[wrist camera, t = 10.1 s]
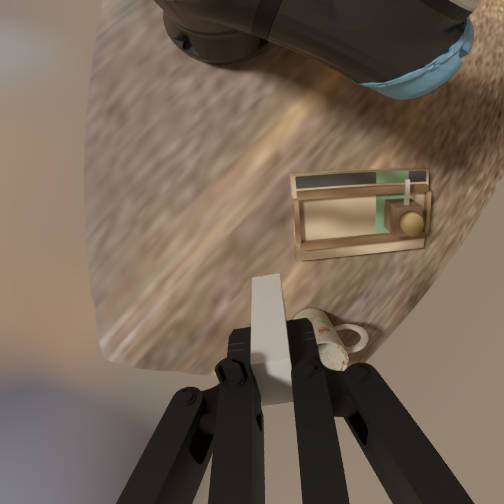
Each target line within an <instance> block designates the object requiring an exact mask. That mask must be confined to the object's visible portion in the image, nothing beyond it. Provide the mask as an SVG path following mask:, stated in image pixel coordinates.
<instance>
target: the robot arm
mask: <svg viewBox="0 0 504 504" xmlns="http://www.w3.org/2000/svg"><path fill="white" fill-rule="evenodd" d="M154 1H155V2H156V3H157V4H158V5H159V6H160V7H161V8H162V9H163V10H164V11H163V19H164V25H165V28H166V31H167V33H168V35H169V37H170V38H171V40H172V41H173V42H174V44H175V45H176V46H177V47H179V48H180V49H181V50H182V51H183V52H184V53H186V54H187V55H189V56H191V57H192V58H195V59H197V60H200V61H203V62H207V63H212V64H231V63H237V62H241V61H244V60H247V59H250V58H252V57H254V56H256V55H258V54H259V53H261V52H262V51H264V50H265V49H266V48H267V47H269V46H270V45H271V44H272V43H274V44H277V45H280V46H282V47H285V48H287V49H289V50H292V51H294V52H297V53H299V54H301V55H304V56H306V57H308V58H310V59H313V60H315V61H317V62H319V63H321V64H323V65H325V66H328V67H330V68H332V69H334V70H336V71H338V72H340V73H342V74H344V75H346V76H347V77H348V78H349V79H350V80H351V81H353V82H354V83H356V84H358V85H362V86H364V87H369V88H371V89H373V90H375V91H377V92H379V93H381V94H382V95H384V96H386V97H389V98H393V99H397V100H408V99H414V98H418V97H421V96H423V95H426V94H428V93H430V92H432V91H434V90H435V89H437V88H438V87H440V86H441V85H443V84H444V83H445V82H446V81H447V80H449V79H450V78H451V77H452V76H453V75H454V74H455V73H456V72H457V70H458V69H459V68H460V67H461V65H462V64H463V63H462V60H461V58H462V57H464V56H465V55H468V54H469V52H470V50H471V48H472V45H473V40H474V28H473V25H472V22H471V21H470V19H469V15H470V14H471V13H472V12H473V11H474V10H475V9H476V8H477V4H476V0H154ZM215 372H216V375H217V377H218V379H219V382H220V383H219V384H218V385H217V386H215V387H213V388H211V389H207V390H205V391H200V390H199V389H198V388H195V387H186V388H183V389H180V390H179V391H177V392H176V393H175V395H174V396H173V398H172V399H171V401H170V403H169V405H168V407H167V409H166V411H165V413H164V414H163V417H162V418H161V420H160V422H159V424H158V426H157V428H156V430H155V431H154V433H153V435H152V437H151V439H150V441H149V443H148V445H147V447H146V448H145V450H144V452H143V454H142V456H141V458H140V460H139V461H138V463H137V465H136V467H135V469H134V471H133V473H132V475H131V477H130V478H129V480H128V482H127V484H126V486H125V488H124V490H123V492H122V494H121V495H120V497H119V499H118V501H117V503H116V504H192V503H193V500H194V498H195V496H196V493H197V490H198V488H199V486H200V483H201V481H202V478H203V476H204V473H205V471H206V468H207V465H208V463H209V461H210V458H211V455H212V453H213V457H212V467H211V478H210V488H209V499H208V504H265V481H264V480H265V475H264V474H265V473H264V427H263V426H264V424H263V423H264V421H263V413H262V409H261V402H262V405H263V406H264V405H272V404H280V403H287V402H294V411H295V421H296V432H297V443H298V454H299V465H300V477H301V489H302V501H303V504H349V497H348V492H347V485H346V480H345V474H344V468H343V462H342V457H341V451H340V446H339V441H338V436H337V430H336V425H335V420H334V416H335V417H344V419H345V421H346V423H347V424H348V426H349V428H350V429H351V431H352V433H353V435H354V437H355V438H356V440H357V442H358V444H359V445H360V447H361V449H362V451H363V452H364V454H365V456H366V458H367V459H368V461H369V463H370V465H371V466H372V468H373V470H374V471H375V473H376V475H377V477H378V479H379V480H380V482H381V484H382V485H383V487H384V489H385V491H386V493H387V494H388V496H389V498H390V499H391V501H392V503H393V504H474V503H473V501H472V500H471V498H470V497H469V495H468V494H467V493H466V491H465V490H464V488H463V487H462V485H461V484H460V483H459V481H458V480H457V478H456V477H455V476H454V474H453V473H452V472H451V470H450V469H449V467H448V466H447V464H446V463H445V462H444V460H443V459H442V457H441V456H440V455H439V453H438V452H437V451H436V449H435V448H434V446H433V445H432V444H431V442H430V441H429V440H428V438H427V437H426V436H425V434H424V433H423V432H422V430H421V429H420V427H419V426H418V425H417V423H416V422H415V421H414V419H413V418H412V417H411V415H410V414H409V413H408V411H407V410H406V409H405V407H404V406H403V405H402V403H401V402H400V401H399V399H398V398H397V397H396V395H395V394H394V393H393V391H392V390H391V389H390V387H389V386H388V385H387V383H386V382H385V381H384V379H383V378H382V377H381V376H380V374H379V373H378V372H377V370H376V369H375V368H374V367H373V366H371V365H370V364H367V363H356V364H352V365H351V366H349V367H347V369H346V370H345V371H339V370H332V369H329V368H327V367H326V366H324V365H323V363H322V362H321V359H320V355H319V350H318V346H317V341H316V337H315V333H314V328H313V324H312V322H311V321H310V320H309V319H308V318H307V317H306V318H300V319H294V320H288V321H287V316H286V309H285V303H284V298H283V292H282V286H281V280H280V275H279V273H278V274H272V275H266V276H260V277H254V278H252V309H251V327H247V328H240V329H234V330H233V331H232V333H231V335H230V336H229V342H228V352H227V358H225V359H223V360H221V361H220V362H219V363H218V364H217V365H216V367H215Z"/></svg>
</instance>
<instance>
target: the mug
mask: <svg viewBox="0 0 504 504" xmlns="http://www.w3.org/2000/svg"><path fill="white" fill-rule="evenodd" d="M306 317H307V318H308V319H309V320H310V321H311V322H312V324H313V328H314V333H315V337H316V341H317V346H318V350H319V355H320V359H321V362H322V363H323V365H324V366H326V367H327V368H329V369H332V370H339V371H344V370H345V369H346V367H347V365H348V362H349V355H348V354H349V353H354V352H357V351H360V350H362V349H363V348H364V347H365V346H366V344H367V342H368V340H369V336H368V333H367V331H366V330H365V329H364V328H362V327H360V326H358V325H353V324H342V325H338V326H335V327H333V325H332V323H331V322H330V320H329V318H328V316H327V315H326V314H325V313H324V312H323V311H322V310H320V309H316V308H308V309H305V310H302V311H300V312H299V313H298V314H297V315H296V316H295V317H294V319H300V318H306ZM294 319H293V320H294ZM342 329H351V330H354V331H356V332H358V333H359V334H360V336H361V339H360V341H359V342H358V343H357V344H356V345H353V346H349V347H345V346H344V344H343V342H342V341H341V339H340V337H339V335H338V334H337V332H336V331H337V330H342Z"/></svg>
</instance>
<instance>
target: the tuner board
mask: <svg viewBox="0 0 504 504" xmlns="http://www.w3.org/2000/svg"><path fill="white" fill-rule="evenodd" d="M405 179H410V198H411V199H412V200H414V201H415V202H417V203H419V204H420V205H422V206H423V211H422V218H423V221H424V227H423V230H422V231H421V235H417V236H414V237H410V236H403V237H394V236H393V235H392V234H391V233H390V232H389V231H388V230H387V229H386V228H385V227H384V212H385V199H400V198H404V192H405ZM290 181H291V194H292V208H293V223H294V238H295V255H296V260H297V261H304V260H314V259H324V258H333V257H343V256H352V255H362V254H371V253H380V252H389V251H398V250H407V249H416V248H424V240H425V235H426V232H429V222H430V209H431V193H432V192H431V191H429V185H428V183H429V170H428V169H426V168H387V169H360V170H341V171H324V172H310V173H297V174H290Z"/></svg>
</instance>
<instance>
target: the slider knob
mask: <svg viewBox="0 0 504 504" xmlns="http://www.w3.org/2000/svg"><path fill="white" fill-rule="evenodd" d="M422 211H423V206H422V205H420V204H419V203H417V202H415V201H414V200H412V199H411V198H410V179H405V192H404V198H400V199H385V212H384V227H385V228H386V229H387V230H388V231H389V232H390V233H391V234H392V235H393V236H394V237H403V236H410V237H414V236H417V235H421V231H422V230H423V227H424V221H423V218H422Z"/></svg>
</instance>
